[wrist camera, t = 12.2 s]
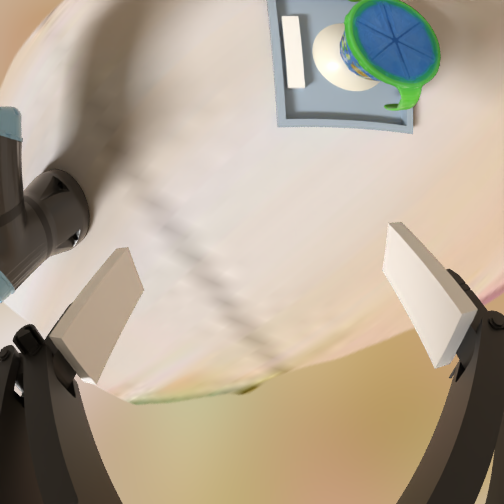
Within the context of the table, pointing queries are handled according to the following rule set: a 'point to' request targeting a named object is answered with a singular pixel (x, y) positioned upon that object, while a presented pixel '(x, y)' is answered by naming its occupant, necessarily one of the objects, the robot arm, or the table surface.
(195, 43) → the table surface
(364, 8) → the snack cup
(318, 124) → the meal tray
